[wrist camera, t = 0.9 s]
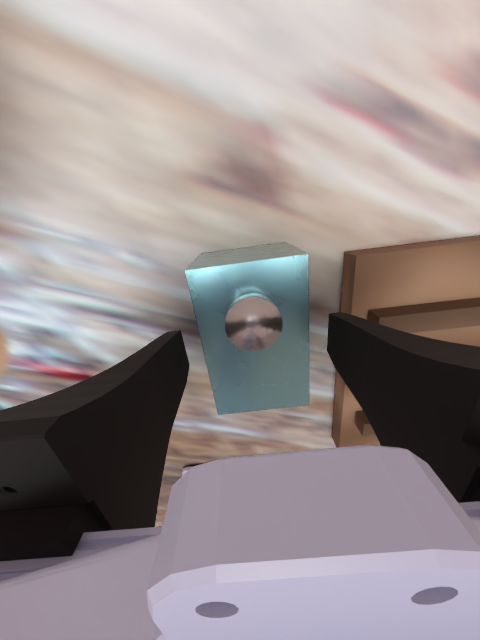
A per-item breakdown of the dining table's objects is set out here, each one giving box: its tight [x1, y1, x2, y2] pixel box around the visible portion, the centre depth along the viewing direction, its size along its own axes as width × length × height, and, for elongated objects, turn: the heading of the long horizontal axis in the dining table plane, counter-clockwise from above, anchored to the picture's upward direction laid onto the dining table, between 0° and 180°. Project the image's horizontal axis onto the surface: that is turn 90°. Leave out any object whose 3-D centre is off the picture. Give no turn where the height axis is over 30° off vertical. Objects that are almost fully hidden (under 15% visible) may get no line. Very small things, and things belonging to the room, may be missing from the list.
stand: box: [332, 235, 480, 448], centre depth 15 cm, size 16×16×3 cm
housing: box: [185, 242, 309, 415], centre depth 13 cm, size 8×5×6 cm, turn 7°
